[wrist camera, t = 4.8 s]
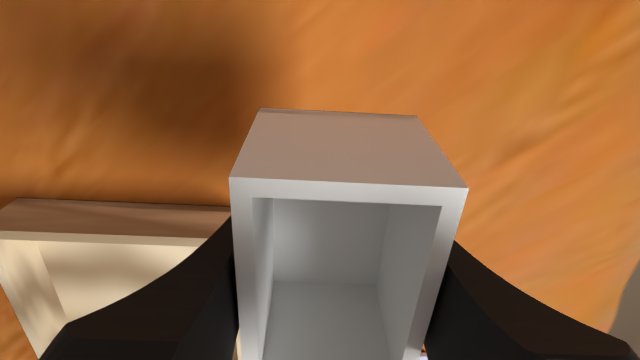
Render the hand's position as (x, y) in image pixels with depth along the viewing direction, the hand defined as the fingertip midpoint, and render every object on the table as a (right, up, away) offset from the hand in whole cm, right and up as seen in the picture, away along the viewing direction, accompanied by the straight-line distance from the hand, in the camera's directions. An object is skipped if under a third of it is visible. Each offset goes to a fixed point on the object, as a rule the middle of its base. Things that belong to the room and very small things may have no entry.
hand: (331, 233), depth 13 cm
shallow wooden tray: (-12, -5, +12) cm, 18 cm away
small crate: (0, +1, +1) cm, 2 cm away
